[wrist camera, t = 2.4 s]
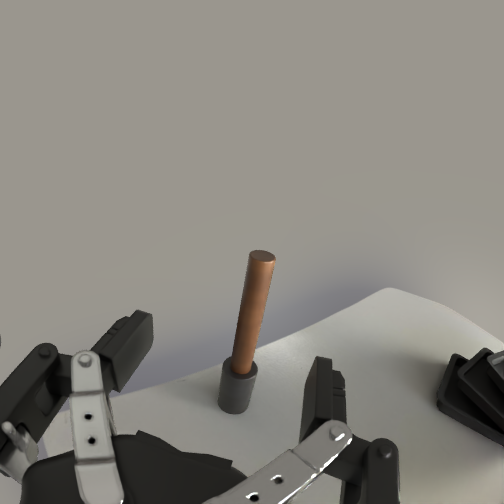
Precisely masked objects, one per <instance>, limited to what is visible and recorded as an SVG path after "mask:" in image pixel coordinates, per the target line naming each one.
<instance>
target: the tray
mask: <svg viewBox="0 0 504 504" xmlns="http://www.w3.org/2000/svg"><path fill="white" fill-rule="evenodd" d="M437 398H438V402H437V406H438V408H439V410H440V411H442V412H443V413H445V414H447V415H448V416H450V417H452V418H454V419H455V420H457V421H459V422H461V423H462V424H464V425H466V426H468V427H469V428H471V429H473V430H475V431H476V432H478V433H480V434H482V435H484V436H485V437H487V438H489V439H491V440H493V441H495V442H496V443H498V444H500V445H502V446H504V351H501V352H498V353H496V354H494V353H493V352H492V351H491V350H489V349H488V348H483V349H481V350H480V351H479V352H478V353H477V354H476V355H475V356H474V357H473V358H471V359H470V360H468V359H466V358H464V357H463V356H461V355H459V354H453V355H452V356H451V359H450V362H449V364H448V367H447V370H446V372H445V375H444V377H443V380H442V382H441V385H440V387H439V390H438V392H437Z"/></svg>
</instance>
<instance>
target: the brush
mask: <svg viewBox="0 0 504 504" xmlns="http://www.w3.org/2000/svg"><path fill="white" fill-rule="evenodd" d="M275 260H276V258H275V256H274V255H273V254H271V253H270V252H267V251H262V250H255V251H252V252H250V254H249V259H248V265H247V271H246V277H245V282H244V289H243V294H242V300H241V305H240V312H239V317H238V323H237V329H236V334H235V340H234V346H233V352H232V356H231V357H229V358H227V359H226V360H225V361H224V363H223V367H222V374H221V381H220V388H219V395H218V405H219V406H220V408H221V409H222V410H223V411H225V412H227V413H230V414H239V413H242V412H244V411H245V410H246V409H247V408H248V405H249V401H250V398H251V394H252V390H253V387H254V383H255V379H256V376H257V372H258V368H257V365H256V363H255V362H254V361H253V357H254V353H255V349H256V344H257V340H258V336H259V332H260V327H261V323H262V319H263V314H264V310H265V305H266V300H267V296H268V292H269V287H270V283H271V278H272V274H273V268H274V264H275Z"/></svg>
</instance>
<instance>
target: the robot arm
mask: <svg viewBox="0 0 504 504" xmlns="http://www.w3.org/2000/svg"><path fill="white" fill-rule="evenodd" d="M152 319H153V318H152V314H150V313H147V312H143V311H140V310H136V311H135V312H134V313H133V314H132V315H131V316H130V317H127V316H125V317H123V318H121V319H119V320H117V321H116V322H115V323H114V325H113V326H112V327H111V328H110V329H109V330H108V331H107V333H105V334H104V335H103V336H102V337H101V339H100V340H99V341H98V342H97V343H96V344H95V345H94V346H93V347H92V348H91V350H83V351H79V352H77V353H76V354H75V355H74V356H71V355H65V354H60V353H58V350H57V348H56V346H54V345H53V344H51V343H42V344H39V345H38V346H36V347H35V348H34V349H33V350H32V351H31V352H30V353H29V354H28V356H27V357H26V358H25V359H24V360H23V361H22V362H21V363H20V364H19V365H18V366H17V368H16V369H15V370H14V371H13V372H12V373H11V374H10V375H9V377H8V378H7V379H6V380H5V381H4V382H3V384H2V385H1V386H0V472H1V473H2V474H3V475H4V476H7V477H12V478H13V479H14V480H16V481H17V482H18V483H20V484H21V485H22V494H21V500H20V504H289V503H291V502H292V501H293V500H294V499H295V498H296V497H297V496H298V495H300V494H301V493H302V492H303V491H304V490H305V489H307V488H308V487H309V486H310V485H311V484H312V483H313V482H314V481H316V480H317V479H318V478H319V477H320V476H321V475H322V474H323V473H325V474H328V475H330V476H333V477H335V478H338V479H341V480H342V486H341V495H340V503H339V504H400V475H399V454H398V448H397V446H396V445H395V444H394V443H393V442H392V441H390V440H388V439H385V438H379V439H376V440H374V441H372V442H369V441H366V440H363V439H361V438H359V437H357V436H355V435H354V434H352V431H351V429H350V428H349V426H348V425H347V419H346V397H345V396H346V394H345V380H344V378H343V376H342V374H341V372H340V371H335V370H332V359H329V358H324V357H318V356H316V357H315V360H314V362H313V365H312V367H311V370H310V372H309V374H308V377H307V380H306V383H305V388H304V398H303V409H302V419H301V428H300V437H299V445H298V446H296V447H295V448H294V449H292V450H291V449H289V450H287V451H285V452H284V453H282V454H281V455H280V456H278V457H277V458H276V459H274V460H273V461H272V462H270V463H269V464H267V465H266V466H265V467H263V468H262V469H260V470H259V471H257V472H256V473H255V474H253V475H252V476H250V477H249V478H248V477H247V476H246V475H244V474H243V473H242V472H241V471H239V470H237V469H236V468H234V467H232V466H231V465H232V462H233V461H232V460H228V459H224V458H220V457H217V456H213V455H209V454H199V453H189V452H182V451H180V450H178V449H176V448H175V447H173V446H171V445H170V444H168V443H167V442H165V441H163V440H162V439H160V438H158V437H155V436H153V435H150V434H148V433H145V432H143V431H140V430H138V431H137V433H136V435H128V434H125V435H118V434H117V431H116V427H115V422H114V418H113V413H112V407H111V402H110V397H109V393H110V392H111V390H115V391H117V392H119V393H120V392H121V390H122V389H123V387H124V386H125V384H126V383H127V381H128V380H129V379H130V377H131V376H132V374H133V373H134V371H135V370H136V368H137V367H138V366H139V364H140V362H141V361H142V360H143V358H144V357H145V356H146V354H147V353H148V351H149V350H150V348H151V346H152V343H153V320H152ZM68 397H69V404H70V418H71V429H72V438H73V446H74V450H72V451H69V452H66V453H63V454H60V455H56V456H53V457H50V458H46V459H43V460H39V461H37V458H38V457H37V456H38V452H39V451H38V446H37V443H38V441H39V440H40V438H41V437H42V435H43V434H44V432H45V431H46V429H47V428H48V426H49V425H50V423H51V422H52V420H53V419H54V417H55V416H56V414H57V413H58V411H59V410H60V408H61V407H62V406H63V404H64V403H65V401H66V400H67V398H68ZM36 461H37V462H36Z"/></svg>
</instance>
